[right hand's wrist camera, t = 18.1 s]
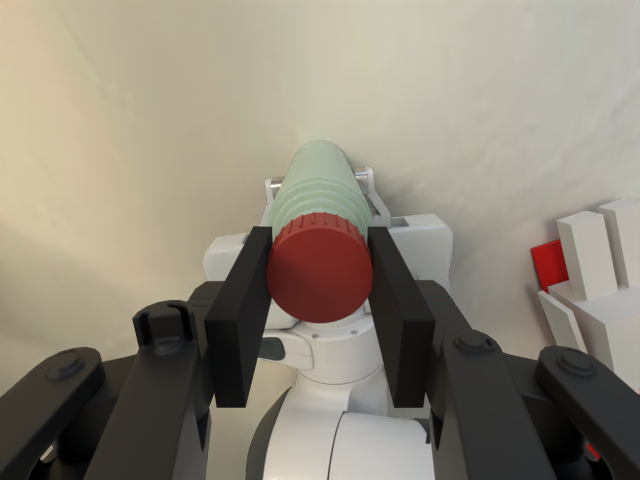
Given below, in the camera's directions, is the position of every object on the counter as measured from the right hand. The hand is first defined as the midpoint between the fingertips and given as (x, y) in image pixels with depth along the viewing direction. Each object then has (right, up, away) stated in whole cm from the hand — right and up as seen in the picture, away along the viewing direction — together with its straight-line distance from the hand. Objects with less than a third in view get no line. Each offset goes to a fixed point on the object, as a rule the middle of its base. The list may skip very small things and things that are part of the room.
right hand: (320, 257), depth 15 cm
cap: (0, -1, -1) cm, 2 cm away
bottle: (0, +8, +19) cm, 20 cm away
